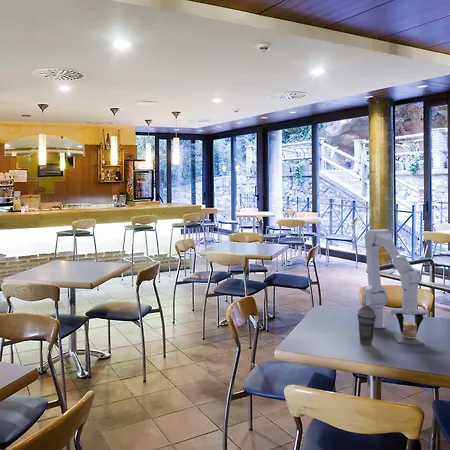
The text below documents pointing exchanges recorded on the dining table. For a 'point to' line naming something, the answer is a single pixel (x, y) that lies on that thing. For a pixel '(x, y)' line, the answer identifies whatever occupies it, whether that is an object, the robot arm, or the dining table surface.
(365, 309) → the beverage cup
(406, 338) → the coaster mat
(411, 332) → the oak cube
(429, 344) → the dining table surface
